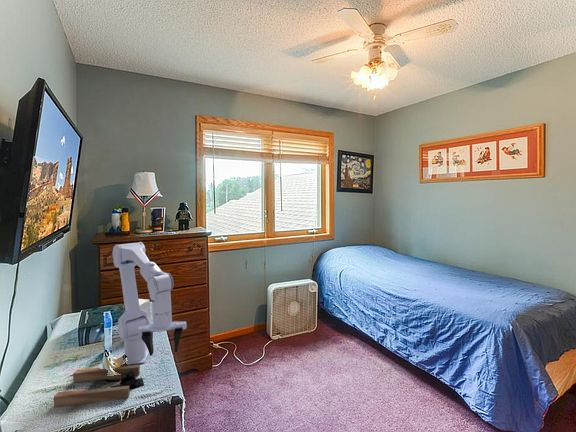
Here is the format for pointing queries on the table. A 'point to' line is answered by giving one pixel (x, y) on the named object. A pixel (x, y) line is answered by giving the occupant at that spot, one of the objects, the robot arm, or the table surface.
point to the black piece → (129, 381)
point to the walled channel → (98, 394)
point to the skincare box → (144, 307)
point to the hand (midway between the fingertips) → (164, 352)
